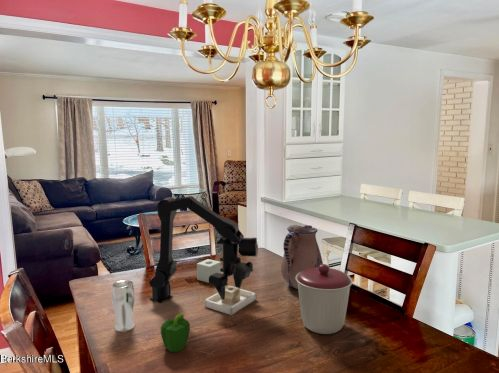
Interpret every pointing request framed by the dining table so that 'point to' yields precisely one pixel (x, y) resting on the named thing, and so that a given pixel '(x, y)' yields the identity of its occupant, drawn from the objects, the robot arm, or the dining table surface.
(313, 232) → the ceramic pitcher
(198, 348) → the dining table surface
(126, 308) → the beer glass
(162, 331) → the bell pepper
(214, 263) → the sage block
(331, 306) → the canister
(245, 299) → the tray
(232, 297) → the maple block
